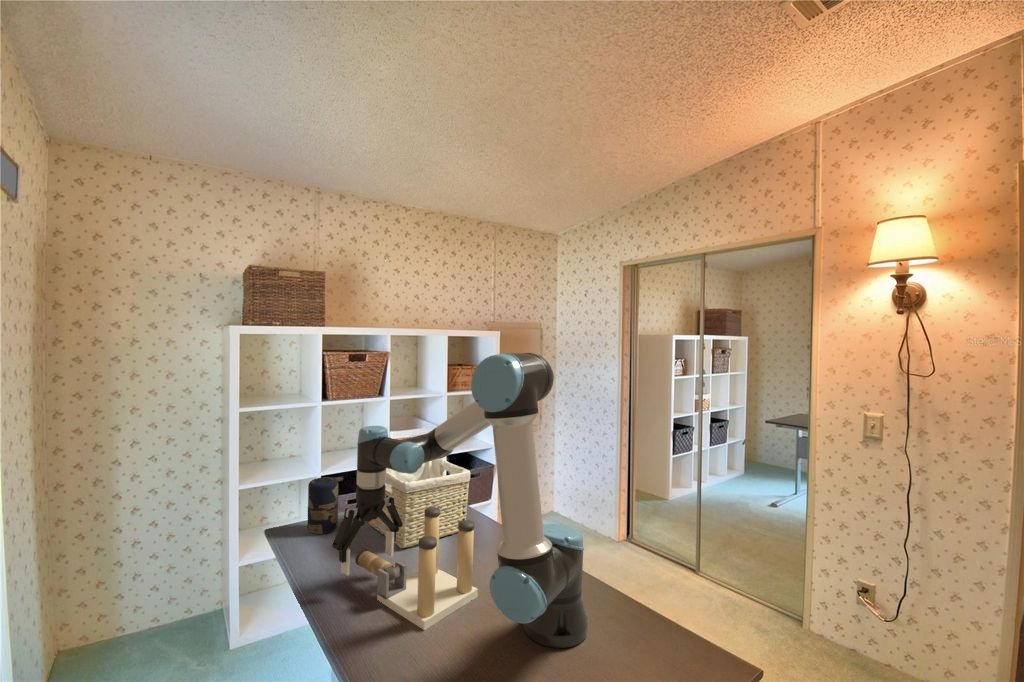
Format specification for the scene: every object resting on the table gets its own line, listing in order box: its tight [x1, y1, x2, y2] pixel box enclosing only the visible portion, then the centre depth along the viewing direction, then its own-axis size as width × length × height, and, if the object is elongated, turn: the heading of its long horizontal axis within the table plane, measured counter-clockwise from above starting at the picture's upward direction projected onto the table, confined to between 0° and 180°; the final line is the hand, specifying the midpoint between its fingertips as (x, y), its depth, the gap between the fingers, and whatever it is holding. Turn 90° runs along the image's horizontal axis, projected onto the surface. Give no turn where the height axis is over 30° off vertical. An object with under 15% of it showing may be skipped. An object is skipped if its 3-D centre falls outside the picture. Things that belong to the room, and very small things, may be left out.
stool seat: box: [376, 507, 479, 631], centre depth 117 cm, size 18×19×19 cm
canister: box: [307, 476, 339, 535], centre depth 155 cm, size 10×10×18 cm
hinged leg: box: [354, 548, 402, 582], centre depth 120 cm, size 14×4×4 cm, turn 52°
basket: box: [369, 458, 471, 549], centre depth 159 cm, size 27×27×22 cm
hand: (368, 563), depth 122 cm, fingers open, 13 cm apart
